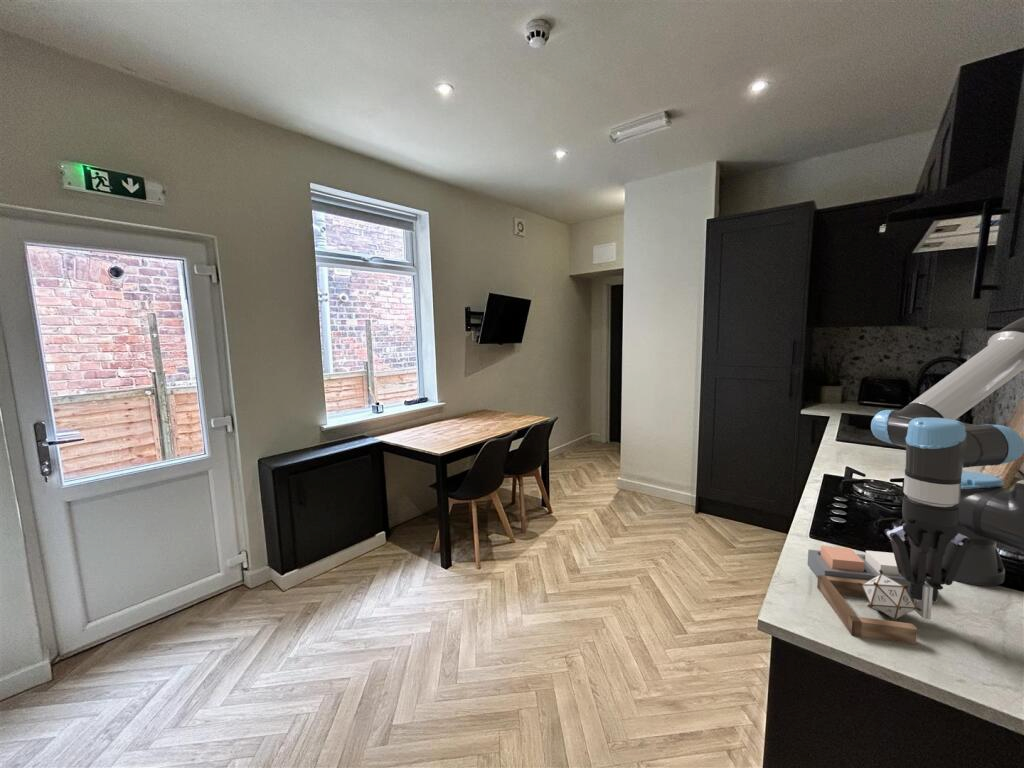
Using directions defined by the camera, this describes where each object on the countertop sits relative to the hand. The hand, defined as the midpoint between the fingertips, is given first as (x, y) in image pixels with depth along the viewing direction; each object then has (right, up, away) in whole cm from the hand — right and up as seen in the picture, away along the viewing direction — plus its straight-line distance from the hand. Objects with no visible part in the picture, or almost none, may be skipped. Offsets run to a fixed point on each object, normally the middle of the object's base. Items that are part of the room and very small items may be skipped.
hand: (921, 614), depth 80 cm
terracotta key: (-4, +3, +15) cm, 15 cm away
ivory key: (+5, +3, +12) cm, 13 cm away
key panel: (0, 0, +14) cm, 14 cm away
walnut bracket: (-9, -2, +3) cm, 10 cm away
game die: (-4, -2, +3) cm, 5 cm away
